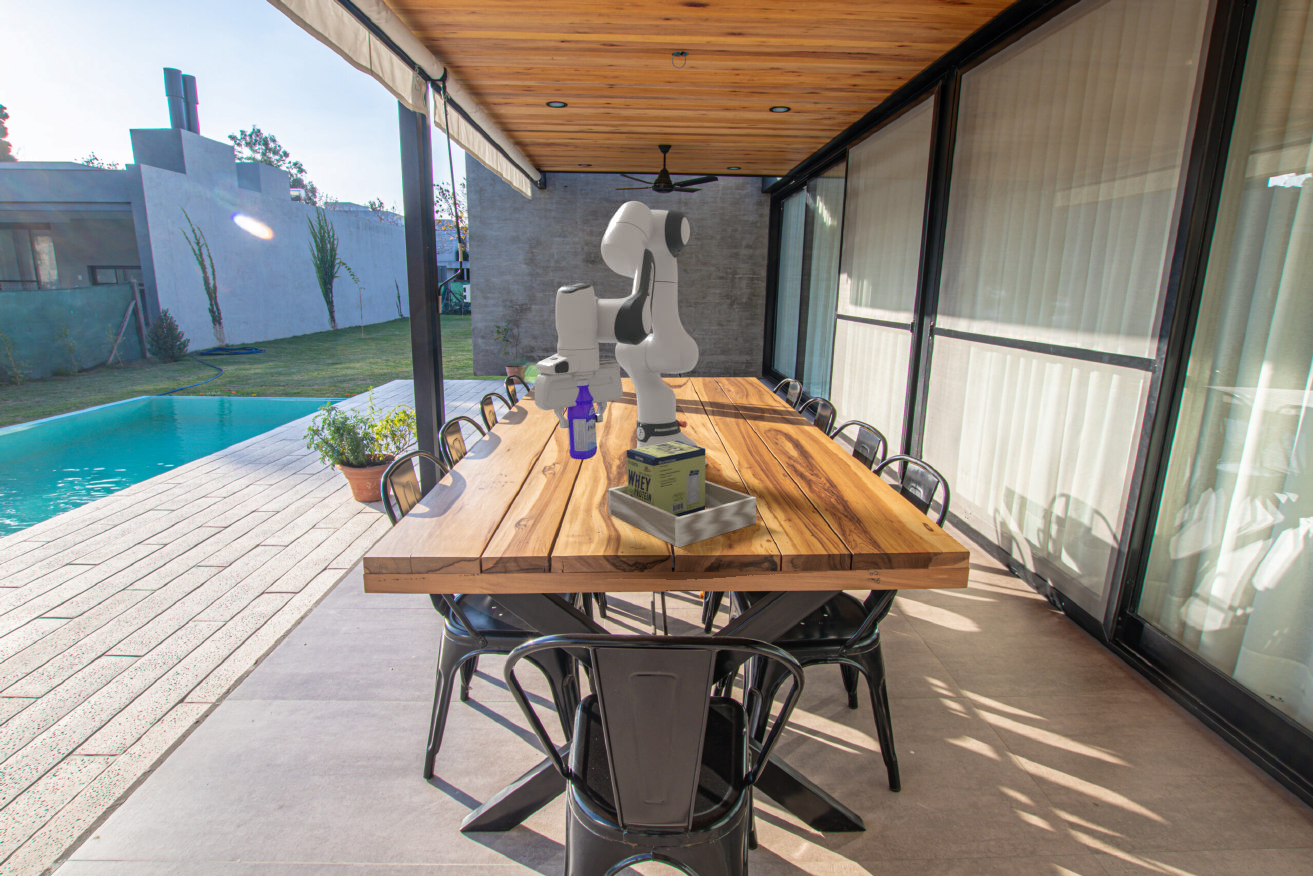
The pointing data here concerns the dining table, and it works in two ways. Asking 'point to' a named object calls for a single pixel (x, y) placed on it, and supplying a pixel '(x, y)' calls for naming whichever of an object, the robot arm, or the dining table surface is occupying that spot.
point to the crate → (721, 518)
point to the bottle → (582, 424)
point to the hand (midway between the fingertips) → (581, 424)
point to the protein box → (668, 476)
